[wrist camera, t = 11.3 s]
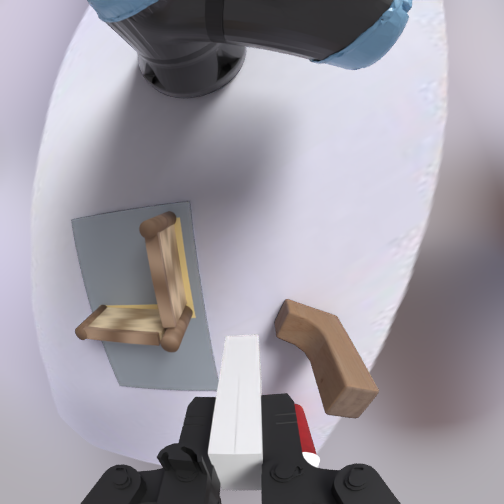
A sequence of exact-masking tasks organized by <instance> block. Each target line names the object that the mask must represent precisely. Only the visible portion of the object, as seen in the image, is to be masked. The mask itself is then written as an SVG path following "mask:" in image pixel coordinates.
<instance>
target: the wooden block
mask: <svg viewBox="0 0 504 504" xmlns="http://www.w3.org/2000/svg"><path fill="white" fill-rule="evenodd" d="M275 330H276V337H278V338H279V339H282V340H284V341H287V342H289V343H292V344H294V345H296V346H297V347H298V348H299V349H301V350H302V351H303V352H305V354H306V356H307V357H308V359H309V360H310V362H311V366H312V369H313V373H314V376H315V379H316V383H317V386H318V390H319V393H320V397H321V400H322V403H323V407H324V410H325V413H326V414H328V415H333V416H341V417H348V418H358V417H359V416H360V415H361V414H362V413H363V412H364V410H365V409H366V408H367V407H368V406H369V404H370V403H371V402H372V401H373V399H374V398H375V397H376V396H377V394H378V392H379V390H378V388H377V386H376V384H375V382H374V380H373V379H372V377H371V375H370V373H369V371H368V370H367V368H366V366H365V364H364V362H363V361H362V359H361V357H360V355H359V353H358V352H357V350H356V348H355V346H354V345H353V343H352V341H351V339H350V338H349V336H348V334H347V332H346V331H345V329H344V327H343V326H342V324H341V322H340V320H339V319H338V317H337V316H335V315H332V314H330V313H327V312H324V311H321V310H318V309H315V308H312V307H309V306H306V305H303V304H300V303H297V302H295V301H292V300H289V299H286V300H285V301H284V303H283V305H282V307H281V310H280V312H279V314H278V316H277V318H276V320H275Z"/></svg>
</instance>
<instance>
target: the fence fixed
mask: <svg viewBox="0 0 504 504" xmlns="http://www.w3.org/2000/svg"><path fill="white" fill-rule="evenodd" d="M175 222H176V215H175V214H174V213H173V212H171V211H168V212H165V213H163V214H160V215H158V216H155V217H153V218H150V219H148V220H145V221H143V222H142V223H141V224H140V227H139V231H140V234H141V235H142V236H143V237H144V238H145V243H146V249H147V255H148V260H149V266H150V271H151V276H152V281H153V286H154V291H155V296H156V300H157V304H158V309H159V313H160V317H161V321H162V325H163V328H167V329H166V331H165V333H164V335H163V337H162V339H161V341H160V344H161V347H162V348H163V349H164V350H165V351H167V352H171V353H172V352H176V351H177V350H178V349H179V346H180V344H181V342H182V339H183V337H184V334H185V332H186V329H187V327H188V325H189V322H190V320H191V317H192V315H193V311H192V309H191V308H190V307H189V306H186V304H187V300H186V295H185V289H184V284H183V278H182V272H181V266H180V260H179V253H178V247H177V240H176V233H175V225H174V224H175Z"/></svg>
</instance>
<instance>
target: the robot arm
mask: <svg viewBox="0 0 504 504" xmlns="http://www.w3.org/2000/svg"><path fill="white" fill-rule="evenodd" d="M87 1H88V2H89V4H90V5H91V6H92V7H93V8H94V10H95V11H96V12H97V14H98V17H99V18H100V19H101V20H102V21H104V22H106V23H107V24H108V25H109V26H110V27H111V28H112V29H113V30H114V31H115V32H116V33H118V34H119V35H120V36H121V37H122V38H123V39H124V40H125V41H126V42H127V43H128V44H129V45H130V46H131V47H132V48H133V49H134V50H135V51H137V55H138V62H139V67H140V70H141V73H142V74H143V76H144V78H145V79H146V80H147V82H149V83H150V84H151V85H152V86H153V87H154V88H155V89H156V90H158V91H160V92H161V93H163V94H166V95H169V96H172V97H178V98H192V97H198V96H202V95H206V94H208V93H211V92H213V91H215V90H217V89H219V88H221V87H223V86H224V85H225V84H227V83H228V82H229V81H230V80H231V79H232V78H233V77H234V76H235V75H236V74H237V73H238V71H239V70H240V68H241V67H242V65H243V63H244V60H245V56H246V47H253V48H259V49H264V50H270V51H275V52H280V53H285V54H289V55H293V56H298V57H302V58H306V59H309V60H310V61H311V62H314V63H319V64H320V63H326V64H330V65H333V66H337V67H341V68H344V69H349V70H357V69H360V68H366V67H368V66H370V65H372V64H374V63H375V62H377V61H378V60H379V59H381V58H382V57H383V56H384V55H385V54H386V53H387V52H388V51H389V50H390V49H391V47H392V46H393V45H394V44H395V42H396V41H397V39H398V38H399V36H400V35H401V33H402V32H403V30H404V28H405V26H406V23H407V21H408V18H409V16H408V14H407V12H408V11H409V10H410V9H411V8H412V0H87ZM157 458H158V460H159V462H160V463H161V465H162V467H163V468H162V469H157V470H151V471H141V472H137V471H136V470H135V469H134V468H132V467H131V466H127V465H115V466H113V467H110V468H109V469H108V470H107V471H106V472H105V473H104V474H103V475H102V477H101V478H100V479H99V481H98V482H97V483H96V485H95V486H94V487H93V488H92V490H91V491H90V492H89V494H88V495H87V496H86V497H85V499H84V500H83V501H82V503H81V504H221V498H220V496H219V495H220V486H221V488H222V490H262V504H400V502H399V501H398V500H397V498H396V497H395V496H394V494H393V493H392V492H391V490H390V489H389V488H388V486H387V485H386V484H385V482H384V481H383V480H382V478H381V477H380V475H379V474H378V473H377V471H376V470H375V469H373V468H372V467H371V466H368V465H365V464H352V465H348V466H346V467H344V468H343V469H341V470H327V469H320V468H317V467H315V466H312V465H311V464H310V463H308V462H307V461H306V459H305V458H304V456H303V453H302V447H301V441H300V435H299V428H298V423H297V416H296V410H295V404H294V401H293V400H292V399H291V398H290V396H289V395H288V394H287V393H285V394H272V395H262V379H261V365H260V351H259V337H258V334H257V335H239V336H226V338H225V344H224V350H223V356H222V363H221V369H220V375H219V382H218V388H217V395H216V397H195V398H194V399H193V400H192V402H191V403H190V404H189V405H188V408H187V412H186V418H185V420H184V426H183V427H182V431H181V435H180V439H179V443H175V444H172V445H169V446H166V447H165V448H164V449H162V450H161V451H160V452H159V454H158V456H157Z"/></svg>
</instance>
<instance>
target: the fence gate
mask: <svg viewBox="0 0 504 504" xmlns="http://www.w3.org/2000/svg"><path fill="white" fill-rule="evenodd" d="M166 329H167V328H163V325H162V321H161V317H160V313H159V309H135V308H114V307H107V306H106V305H101V306H99V307H98V308H97V309H96V310H95V311H94V312H93V313H92V314H91V315H90V316H89V317H88V318H87V319H86V320H84V321H83V322H82V323H81V324H80V325H79V326H78V327H77V328H76V329H75V333H76V335H77V337H78V338H79V339H81V340H85V339H93V340H101V341H110V342H119V343H130V344H142V345H156V346H159V345H160V341H161V339H162V337H163V335H164V333H165V331H166Z"/></svg>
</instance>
